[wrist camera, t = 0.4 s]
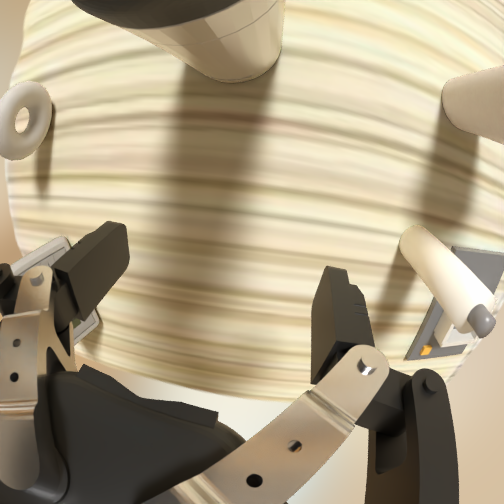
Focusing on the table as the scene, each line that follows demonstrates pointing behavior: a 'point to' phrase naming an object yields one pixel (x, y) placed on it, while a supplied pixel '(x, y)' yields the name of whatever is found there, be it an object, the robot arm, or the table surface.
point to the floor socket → (437, 322)
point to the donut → (40, 112)
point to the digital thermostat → (47, 258)
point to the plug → (449, 281)
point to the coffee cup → (477, 103)
